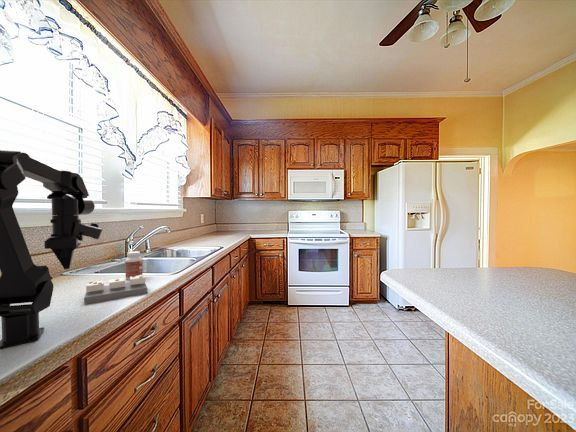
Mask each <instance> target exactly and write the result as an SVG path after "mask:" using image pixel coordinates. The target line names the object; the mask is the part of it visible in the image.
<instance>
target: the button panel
mask: <svg viewBox="0 0 576 432" xmlns="http://www.w3.org/2000/svg"><path fill="white" fill-rule="evenodd" d="M144 293H146V294H148V287H147V284H146V282H145V283H141V284H135V285H131V284H130V281H129V282H125V286H124V287H118V288H111V289H109V284H108V285H104V290H98V291H92V292H86V291H85V295H84V297H83V298H84V299H83V300H84V301H83V304H84V305H87V304H93V303H97V302H98V303H99V302H105V301H110V300H115V299H121V298H127V297H133V296H138V295H145V294H144Z"/></svg>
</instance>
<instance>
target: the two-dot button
mask: <svg viewBox="0 0 576 432" xmlns="http://www.w3.org/2000/svg"><path fill="white" fill-rule="evenodd" d="M129 282H130V284H131V285H135V284H141V283H145V284H146V276H145V274H143V275H138V276H131V277H130V280H129Z"/></svg>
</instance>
